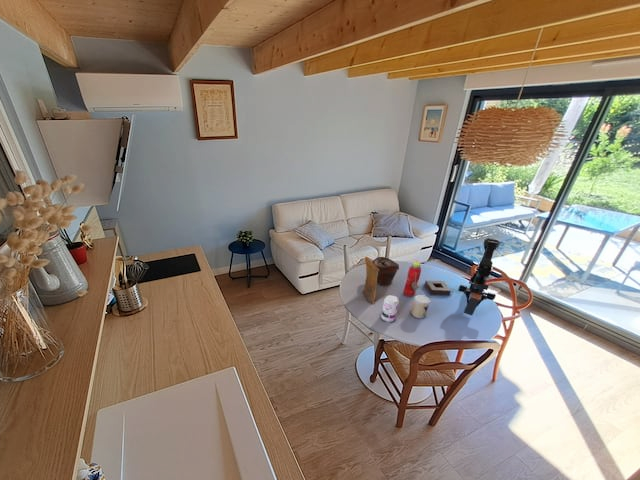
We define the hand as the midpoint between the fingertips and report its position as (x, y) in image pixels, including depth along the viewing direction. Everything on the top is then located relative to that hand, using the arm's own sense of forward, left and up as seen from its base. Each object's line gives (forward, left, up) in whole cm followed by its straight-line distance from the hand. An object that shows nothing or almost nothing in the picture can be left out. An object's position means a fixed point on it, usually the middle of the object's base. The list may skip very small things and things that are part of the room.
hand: (472, 305), depth 173 cm
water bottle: (+15, -33, -9) cm, 37 cm away
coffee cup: (+26, -15, -9) cm, 31 cm away
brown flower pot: (+19, -56, -9) cm, 60 cm away
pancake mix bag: (+42, -44, -9) cm, 61 cm away
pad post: (-1, -1, -7) cm, 7 cm away
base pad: (-8, -30, -9) cm, 32 cm away
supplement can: (+46, -20, -9) cm, 51 cm away
